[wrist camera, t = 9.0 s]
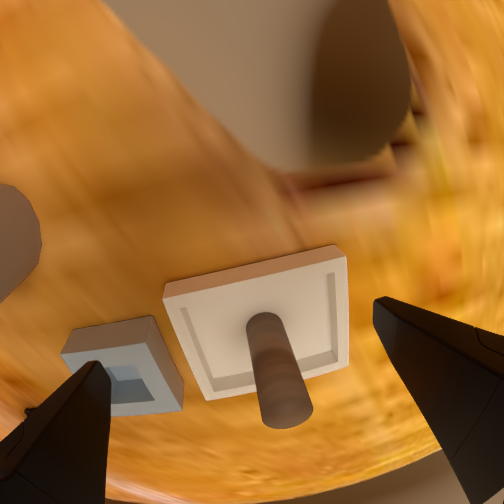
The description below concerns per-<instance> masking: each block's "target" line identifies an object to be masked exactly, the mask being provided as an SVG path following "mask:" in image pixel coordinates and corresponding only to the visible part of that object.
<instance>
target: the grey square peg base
mask: <svg viewBox="0 0 504 504" xmlns="http://www.w3.org/2000/svg"><path fill="white" fill-rule="evenodd" d="M60 355H61V357H62V359H63V360H64V362H65V363H66V365H67V366H68V368H69V369H70V371H71V372H72V374H74V373H75V372H76V371H77V370H78V369H80V368H81V367H82V366H83V365H84V364H85V363H86V362H88V361H93V360H98V361H100V362H101V364H102V365H103V367H104V368H105V370H106V372H107V373H108V375H109V376H110V378H111V382H112V389H111V417H114V416H133V415H147V414H158V413H168V412H177V411H183V391H184V382H183V380H182V378H181V376H180V374H179V372H178V370H177V368H176V366H175V364H174V362H173V360H172V357H171V355H170V353H169V351H168V349H167V347H166V345H165V342H164V340H163V338H162V336H161V333H160V331H159V329H158V327H157V324H156V322H155V320H154V317H153V315H152V316H147V317H142V318H136V319H131V320H126V321H120V322H115V323H109V324H103V325H98V326H92V327H86V328H80V329H74V330H73V331H72V333H71V335H70V337H69V338H68V340H67V342H66V344H65V346H64V348H63V349H62V351H61V353H60Z"/></svg>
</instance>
